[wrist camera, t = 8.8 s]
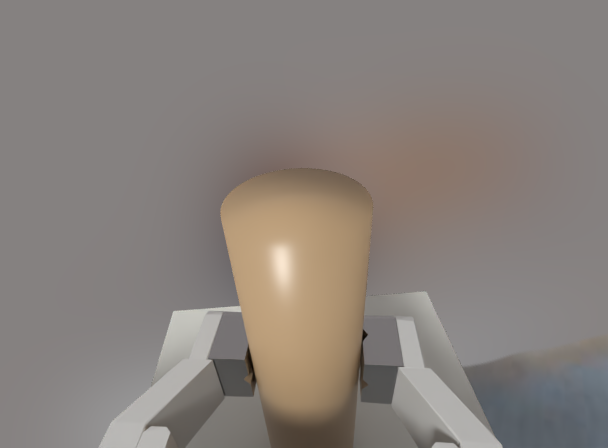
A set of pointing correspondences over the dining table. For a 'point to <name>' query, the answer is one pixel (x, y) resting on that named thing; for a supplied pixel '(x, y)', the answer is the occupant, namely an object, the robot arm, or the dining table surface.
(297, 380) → the white handled block
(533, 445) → the dining table surface
